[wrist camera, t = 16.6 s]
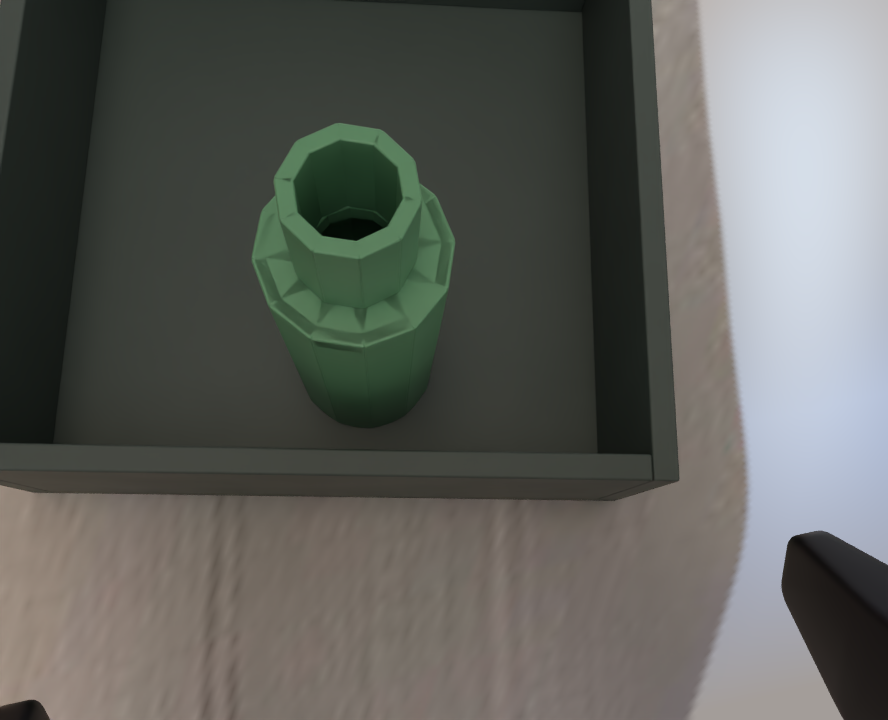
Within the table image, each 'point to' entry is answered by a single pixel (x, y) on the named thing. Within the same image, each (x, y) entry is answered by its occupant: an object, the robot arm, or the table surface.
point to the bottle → (355, 272)
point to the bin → (235, 226)
